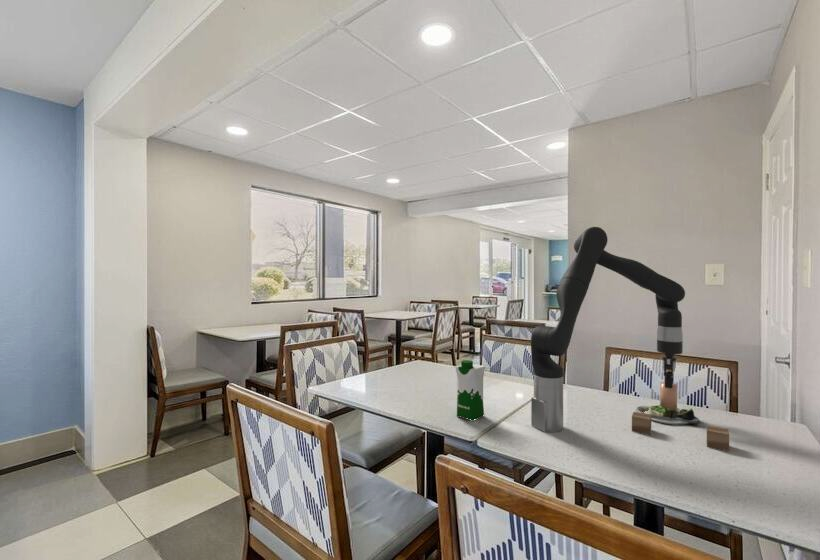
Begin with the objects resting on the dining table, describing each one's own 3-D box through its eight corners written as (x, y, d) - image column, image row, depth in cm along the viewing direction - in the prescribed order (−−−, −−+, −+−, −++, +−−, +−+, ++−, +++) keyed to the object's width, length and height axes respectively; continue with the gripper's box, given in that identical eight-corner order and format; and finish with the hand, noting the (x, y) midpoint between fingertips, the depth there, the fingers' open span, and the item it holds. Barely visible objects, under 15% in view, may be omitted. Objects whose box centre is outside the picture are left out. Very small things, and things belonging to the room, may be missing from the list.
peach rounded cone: (671, 409, 134) (671, 386, 134) (656, 405, 139) (656, 383, 139) (680, 407, 136) (680, 384, 136) (666, 403, 141) (666, 381, 141)
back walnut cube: (650, 435, 122) (650, 419, 122) (631, 431, 125) (631, 416, 125) (651, 430, 126) (651, 414, 126) (633, 426, 129) (633, 411, 129)
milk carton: (453, 416, 138) (452, 360, 138) (467, 410, 145) (467, 356, 145) (473, 423, 132) (473, 364, 132) (488, 415, 139) (487, 360, 139)
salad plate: (651, 428, 128) (651, 414, 128) (622, 409, 146) (622, 397, 146) (710, 428, 128) (710, 414, 128) (674, 409, 146) (674, 397, 146)
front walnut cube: (729, 451, 110) (729, 434, 110) (707, 447, 113) (707, 430, 113) (727, 445, 114) (727, 428, 114) (706, 441, 117) (706, 425, 117)
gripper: (682, 342, 129) (681, 391, 129) (683, 337, 140) (682, 382, 140) (655, 340, 133) (655, 388, 133) (658, 335, 145) (658, 379, 145)
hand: (669, 385), depth 137 cm, fingers open, 8 cm apart
